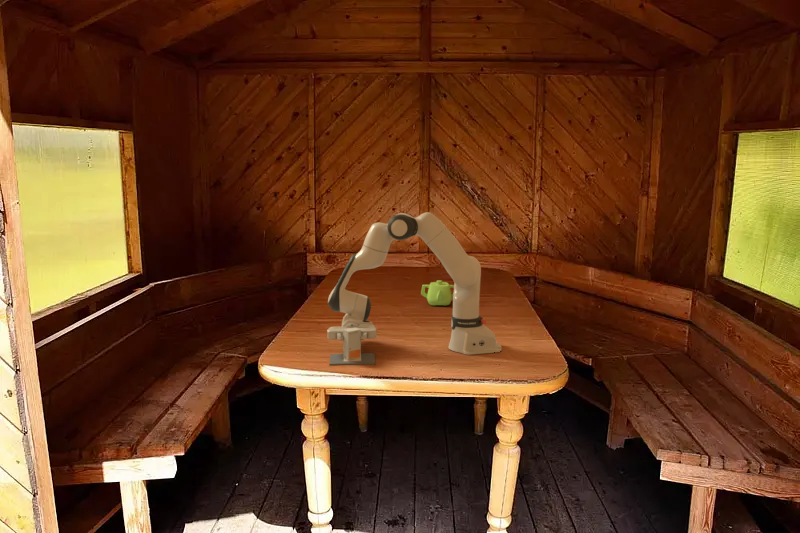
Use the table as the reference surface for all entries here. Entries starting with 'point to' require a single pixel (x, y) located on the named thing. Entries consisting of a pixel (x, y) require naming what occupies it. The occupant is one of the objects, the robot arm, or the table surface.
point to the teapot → (438, 293)
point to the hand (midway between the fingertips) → (352, 338)
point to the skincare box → (351, 343)
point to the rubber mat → (365, 359)
